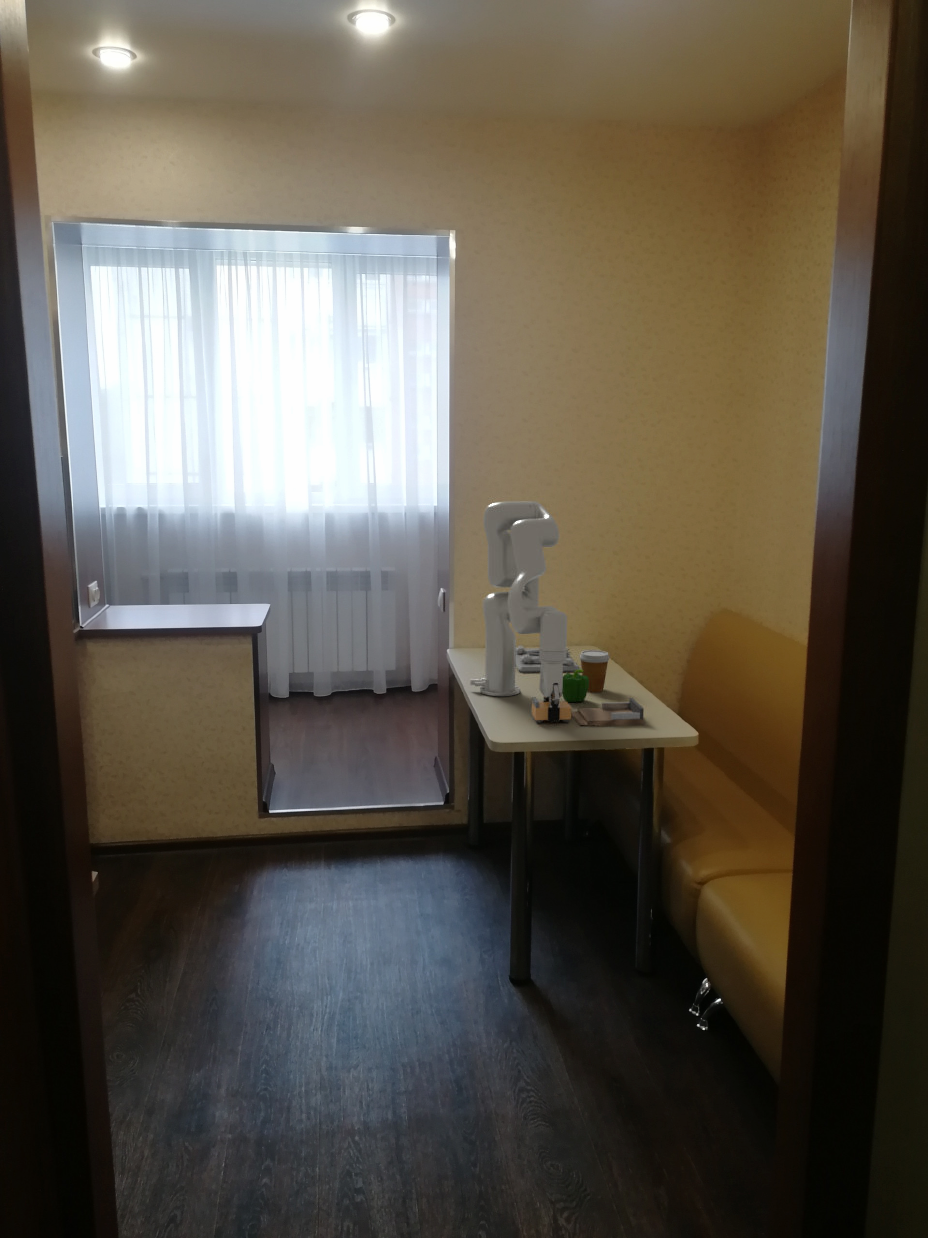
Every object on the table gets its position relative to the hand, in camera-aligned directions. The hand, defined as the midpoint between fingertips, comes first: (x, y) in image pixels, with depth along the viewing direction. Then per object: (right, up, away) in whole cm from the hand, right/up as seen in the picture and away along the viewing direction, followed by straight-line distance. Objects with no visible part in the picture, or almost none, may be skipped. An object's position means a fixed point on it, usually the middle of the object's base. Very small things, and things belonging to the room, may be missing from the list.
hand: (551, 716), depth 264 cm
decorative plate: (+4, +11, +70) cm, 71 cm away
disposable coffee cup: (+17, +5, +34) cm, 38 cm away
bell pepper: (+9, +3, +21) cm, 23 cm away
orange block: (0, -1, 0) cm, 1 cm away
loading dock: (+16, -1, +2) cm, 16 cm away
